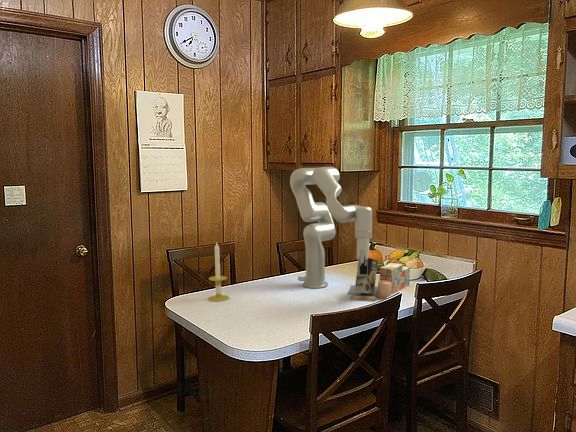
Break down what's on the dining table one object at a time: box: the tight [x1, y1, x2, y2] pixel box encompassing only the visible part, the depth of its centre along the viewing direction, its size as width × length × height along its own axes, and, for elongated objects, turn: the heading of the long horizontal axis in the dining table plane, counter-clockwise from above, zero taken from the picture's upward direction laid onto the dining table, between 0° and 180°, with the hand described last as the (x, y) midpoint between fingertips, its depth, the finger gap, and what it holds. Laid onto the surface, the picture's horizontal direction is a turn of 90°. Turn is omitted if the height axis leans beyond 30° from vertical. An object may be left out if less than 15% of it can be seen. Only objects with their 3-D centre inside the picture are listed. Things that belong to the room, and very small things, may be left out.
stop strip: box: [350, 295, 376, 302], centre depth 218 cm, size 11×1×2 cm, turn 76°
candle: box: [207, 242, 230, 303], centre depth 223 cm, size 10×10×27 cm
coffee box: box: [354, 257, 379, 294], centre depth 225 cm, size 9×6×16 cm
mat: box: [347, 284, 378, 297], centre depth 233 cm, size 16×16×1 cm
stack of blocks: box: [379, 262, 411, 295], centre depth 234 cm, size 21×6×12 cm, turn 143°
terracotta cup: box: [376, 279, 392, 300], centre depth 221 cm, size 6×6×7 cm
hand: (363, 273), depth 219 cm, fingers closed
